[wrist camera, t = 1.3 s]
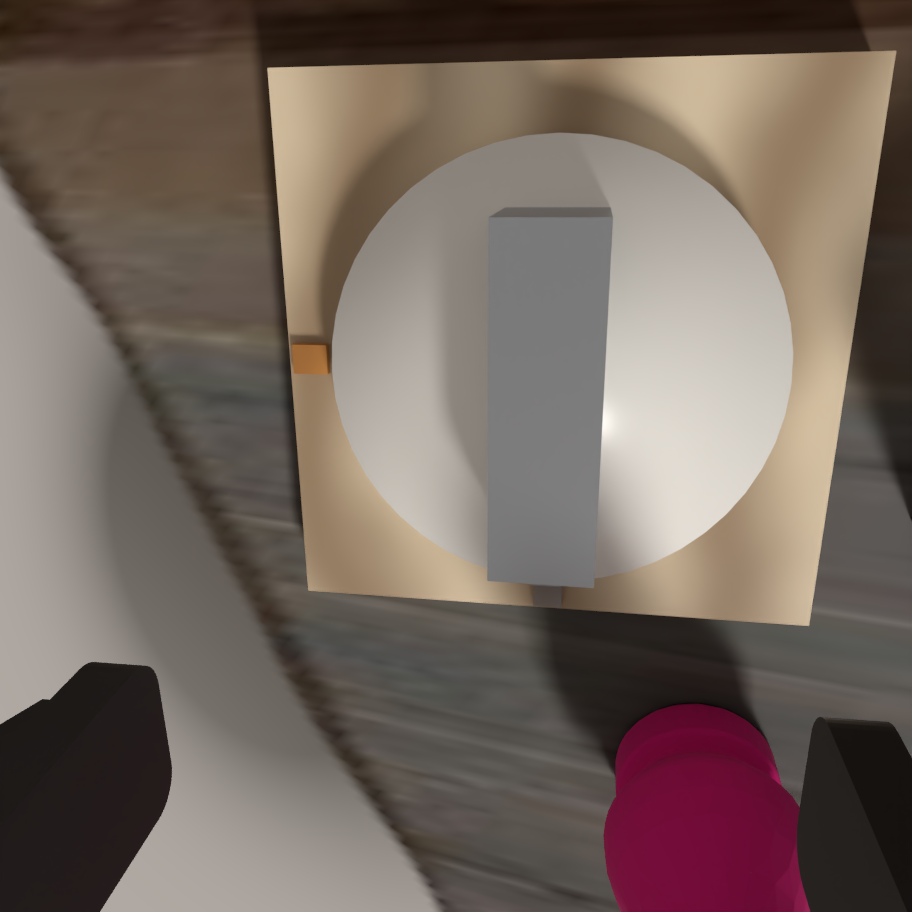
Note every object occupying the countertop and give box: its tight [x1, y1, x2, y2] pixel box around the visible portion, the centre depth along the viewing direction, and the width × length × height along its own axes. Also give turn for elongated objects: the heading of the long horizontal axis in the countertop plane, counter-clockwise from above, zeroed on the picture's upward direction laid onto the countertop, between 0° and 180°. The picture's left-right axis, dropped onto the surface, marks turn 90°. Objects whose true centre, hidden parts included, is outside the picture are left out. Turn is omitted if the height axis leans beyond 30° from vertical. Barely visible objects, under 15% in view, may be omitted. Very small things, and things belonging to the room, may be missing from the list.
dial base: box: [267, 51, 896, 626], centre depth 28 cm, size 18×18×2 cm
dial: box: [332, 133, 793, 588], centre depth 25 cm, size 14×14×6 cm
